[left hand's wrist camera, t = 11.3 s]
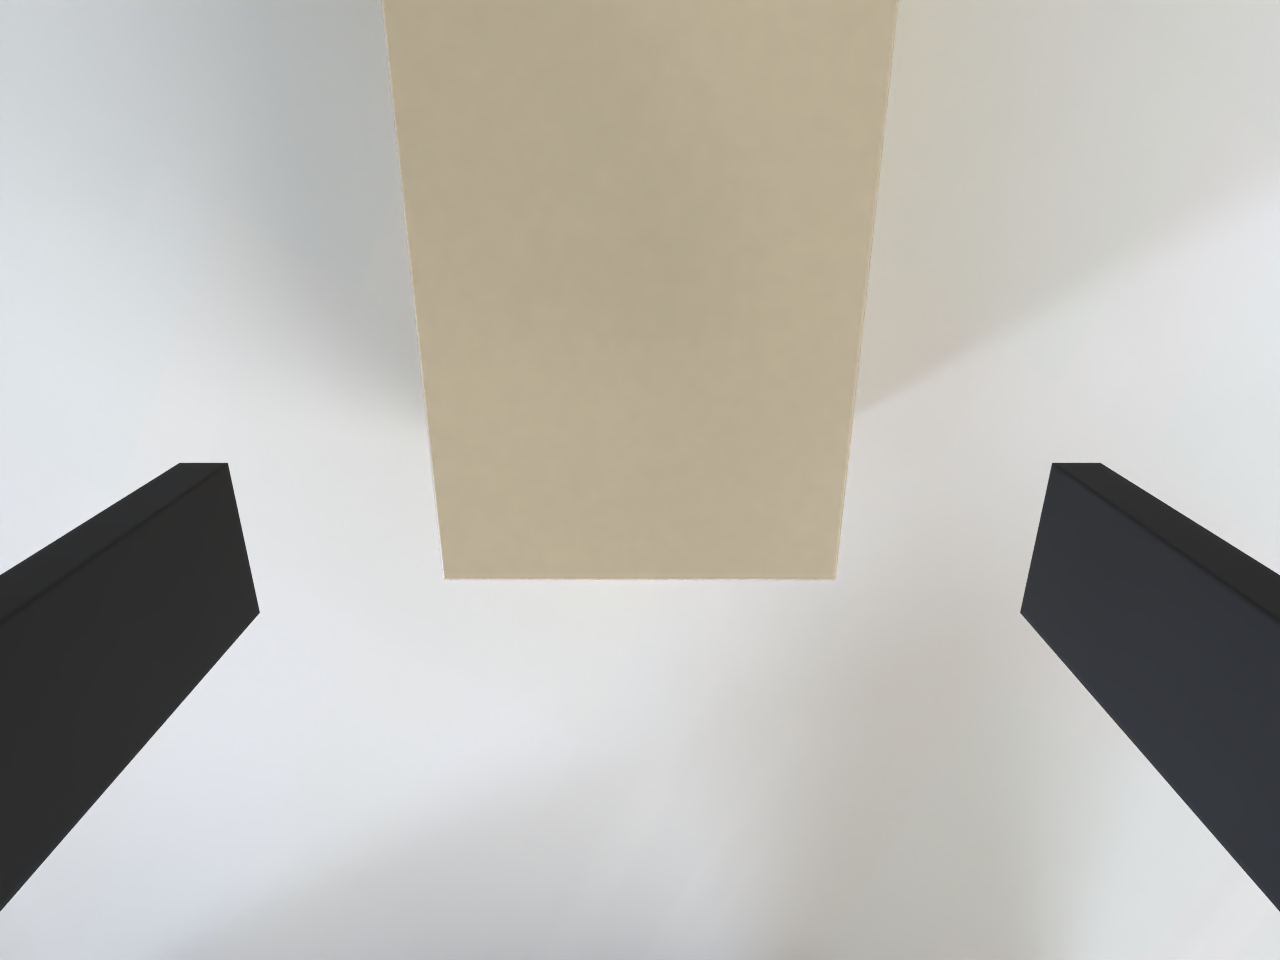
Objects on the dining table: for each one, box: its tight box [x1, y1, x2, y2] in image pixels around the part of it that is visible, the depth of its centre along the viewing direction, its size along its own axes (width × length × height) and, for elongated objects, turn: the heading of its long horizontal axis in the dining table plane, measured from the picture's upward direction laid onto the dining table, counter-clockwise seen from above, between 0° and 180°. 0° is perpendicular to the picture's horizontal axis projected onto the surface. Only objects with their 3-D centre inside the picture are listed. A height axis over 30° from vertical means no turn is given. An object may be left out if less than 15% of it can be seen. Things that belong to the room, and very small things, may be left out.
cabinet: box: [382, 0, 899, 580], centre depth 21 cm, size 18×10×9 cm, turn 0°
